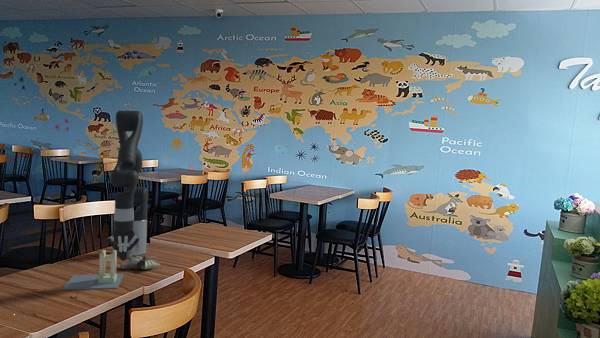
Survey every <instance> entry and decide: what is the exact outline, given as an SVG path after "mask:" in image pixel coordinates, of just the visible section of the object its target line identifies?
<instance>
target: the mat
mask: <svg viewBox="0 0 600 338" xmlns="http://www.w3.org/2000/svg"><path fill="white" fill-rule="evenodd" d="M124 276H125V274H124V273H117V279H116V281H115V283H99V284H98V279H99V274H72V275H71V277H70V278H69V280H67V282H66V283H65V285H64V286H63V287H62V288H61V290H62V291H69V290H70V291H75V290H77V291H78V290H106V289H108V290H110V289H118V288H119V287H120V284H121V282H122V280H123V277H124Z"/></svg>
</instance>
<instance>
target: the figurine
mask: <svg viewBox="0 0 600 338" xmlns="http://www.w3.org/2000/svg"><path fill="white" fill-rule="evenodd" d="M156 257H157V256H156V255H154V256H153V255H152V256H150V257H148V256H146V255H143V256H141V255H129V254H127V259H126V260H129V261H128V262H127V263H120V265H119V266H120V267H119V268H121V269H127V270H133V269H141V270H142V271H143V270H148V271H149V270H152V269H155V268H157V267H162V266H163V264H162V263H159V262H157V261H156V260H155V258H156Z"/></svg>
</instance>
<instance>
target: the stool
mask: <svg viewBox="0 0 600 338" xmlns="http://www.w3.org/2000/svg"><path fill="white" fill-rule="evenodd" d="M117 252H118V251H117V250H114V249H113V250H112V252H111V253H110V254H106V253H107V252H106V249H105V250H104V249H103V250H101V253H99V260H98V261H99V265H98V266H99V272H98V273H99V279H98V284H99V283H115V281H116V279H117V274H118V273H117V258H118V257H117V255H118V254H117ZM106 262H110V273H106Z"/></svg>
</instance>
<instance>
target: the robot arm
mask: <svg viewBox="0 0 600 338" xmlns="http://www.w3.org/2000/svg"><path fill="white" fill-rule="evenodd" d="M115 125H116V131H117V136H118V140H119V141H118V142H119V149H118V155H117V161H116V164H115V166H114V168H113V170H112V172H111V174H110V179H109V181H110V183H111V186H113V187H115V188H123V192H118V193H116V194H115V196H114V213H113V232H112V235H111V236H109V237H107V239H106V242H107V243H109V245H110V246H111V247H112V249H113V250H117V252H118V253H119V254H118V255H119V257H118V258H119V260H121V262H124V261H126V260H128V259H127V255H128V254H129V255H136V256H141V255H145V254H146V253H147V238H148V237H147V233H148V232H147V231H148V230H147V229H148V228H147V227H148V205H149V204H148V202H149V191H148V189H149V188H147V187H144V186H143V187H142V186H141V187H139V186H137V185H138V182H139V178H140V177H139V174H140V172H142V171H141V170H142V168H143V155H142V152H141V150H140V149H139V148H138V146H139V143H140V139H141V136H142V131H143V127H144V116H143V113H142V112H141V111H139V110H122V109H121V110H117V112H116V114H115ZM128 132H131V134H130V135H128ZM134 206H137V207H138V206H139V208H138V209H136V210H134ZM116 242H117V243H116Z"/></svg>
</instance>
